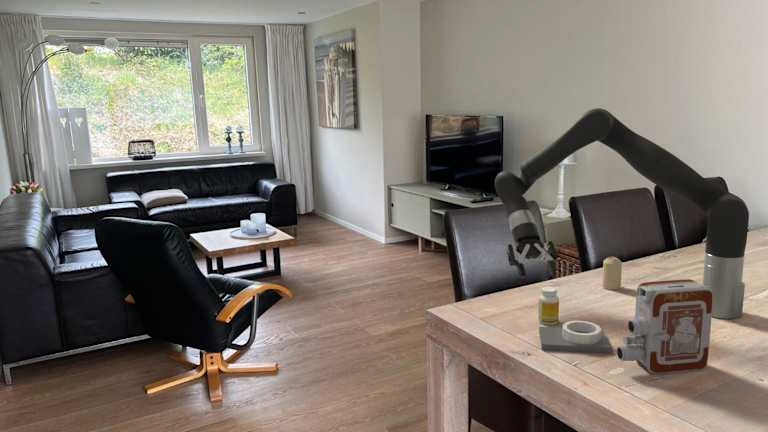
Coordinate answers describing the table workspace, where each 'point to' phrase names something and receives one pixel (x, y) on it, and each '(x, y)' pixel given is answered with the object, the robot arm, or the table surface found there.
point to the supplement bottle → (548, 306)
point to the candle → (612, 273)
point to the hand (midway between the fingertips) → (538, 275)
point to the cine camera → (670, 327)
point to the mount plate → (564, 345)
